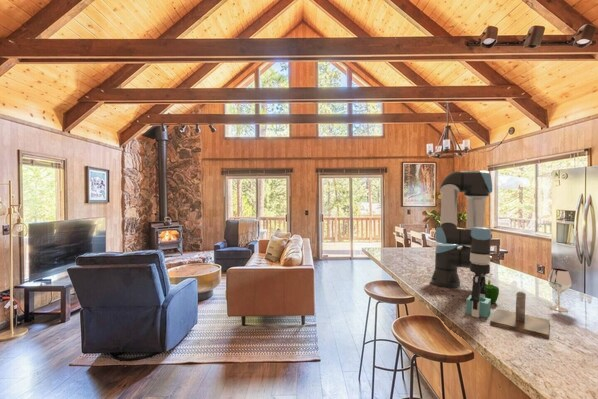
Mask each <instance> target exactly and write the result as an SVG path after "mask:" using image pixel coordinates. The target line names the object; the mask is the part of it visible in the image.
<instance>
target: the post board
mask: <svg viewBox="0 0 598 399" xmlns="http://www.w3.org/2000/svg"><path fill="white" fill-rule="evenodd" d="M515 296H516V297H515V312H514V311H510V310H506V309H501V308H496V309H495V312H494V313H493V315H492V317H491V319H490V321H489V325H491V326H494V327H499V328H503V329H507V330H512V331H515V332H519V333H523V334H527V335H530V336H531V335H532V336H535V337H540V338H543V339H548V340H549V337H550V335H549V334H550V319H548V318H543V317H539V316H534V315H529V314H526V293H525V292H524V291H517V292H516V294H515Z"/></svg>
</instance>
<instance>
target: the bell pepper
mask: <svg viewBox="0 0 598 399" xmlns="http://www.w3.org/2000/svg"><path fill="white" fill-rule="evenodd" d="M486 292H487V294H485V298H488V299H491V304H495V303H497V300H498V298H499V293H500V289H499V287H498V286H497V285H496V286H495V285H494V284H491V280H490V279H489V280H488V281H487V283H486Z"/></svg>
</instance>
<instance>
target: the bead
mask: <svg viewBox="0 0 598 399" xmlns="http://www.w3.org/2000/svg"><path fill="white" fill-rule="evenodd" d="M471 295H472V294H469V296H468V297H466V302H465V313H466V314H469V315H472V301H470V299H471ZM476 299H477V298H476ZM479 302H480V306H479V317H481V318H485V319H487V318H488V317H489V316H490V314H491V310H492V309H491V305H492V303H491V299H488V298H483V297H479Z"/></svg>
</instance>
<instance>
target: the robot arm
mask: <svg viewBox="0 0 598 399" xmlns="http://www.w3.org/2000/svg"><path fill="white" fill-rule="evenodd" d="M492 192H493V180H492V175H491V173H490V172H489V171H488V170H456V171H453V172H451V173H450V174H448V175H447V176H446V177H444V179H443V180H442V181H441V183H440V186H439V193H440V195H441V203H440V204H441V205H440V221H439V222H440V223H439V227H436V228H435V233H434V239H435V242H436V243H438V244H437V245H436V246H435V252H434V255H435V258H434V259H435V260H434V271H433V273H432V276H431V279H430V282H431V283H432V284H433V285H435V286H439V287H443V288H451V289H453V288H459V287H461V280H460V277H459V274H458V268H463V269H464V268H465V269H469V271H470V272H471V273H473V274H474V273H475V274H474V275H473V277H472V287H471V288H472V289H471V294H470V295H471V299H470V301H472V314H471V317H473V318H478V319H479V318H480V316H479V306H480V302H479V297H483V298H485V294H487V292H486V284H487V283H486V276H485V274H486V275H489V274H491V273H490V272H491V271H490V270H491V265H490V264H491V260H492V259H493V257H492V256H491V244H492V243H491V240H492V231H491V229H490V228H489V227H485V215H486V199H487V198H488V197H489V196H490V194H491V193H492ZM460 193H463V194H464V195H463V196H464V197H465V198H466V200H467V201H466V203H467V204H466V218H465V219H466V220H465V221H466V222H465V223H466V224H465V225H466V226H465V228H458V195H459V194H460ZM476 298H477V299H476Z"/></svg>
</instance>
